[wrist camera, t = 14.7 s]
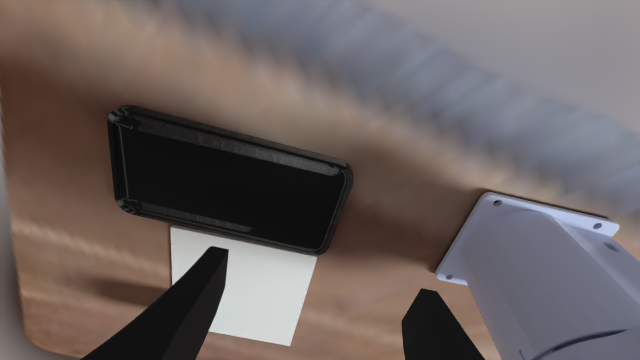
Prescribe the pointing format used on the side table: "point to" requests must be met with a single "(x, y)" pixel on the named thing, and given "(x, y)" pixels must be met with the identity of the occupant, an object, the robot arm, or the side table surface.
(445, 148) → the side table surface
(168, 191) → the phone
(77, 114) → the side table surface
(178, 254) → the paper
